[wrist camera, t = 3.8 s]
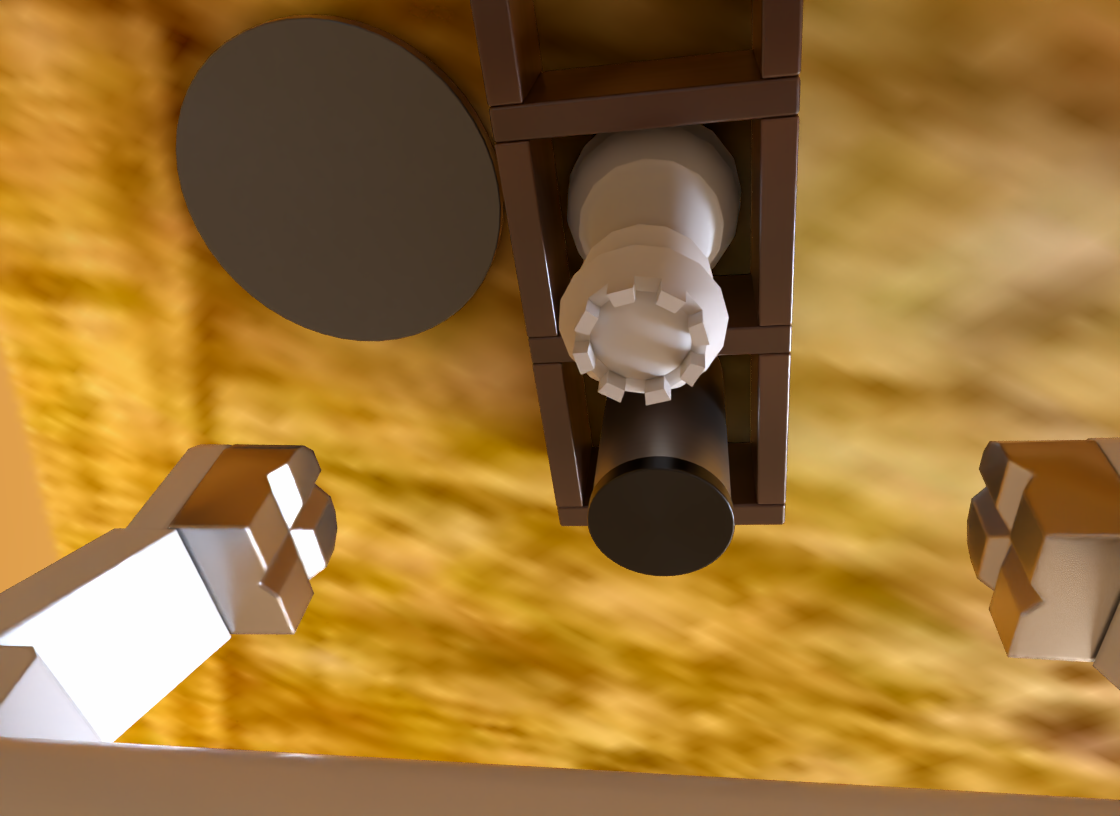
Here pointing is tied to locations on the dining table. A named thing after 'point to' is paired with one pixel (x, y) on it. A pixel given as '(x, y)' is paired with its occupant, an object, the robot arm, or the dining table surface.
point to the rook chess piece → (649, 258)
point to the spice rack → (751, 300)
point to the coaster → (340, 177)
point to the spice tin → (664, 480)
